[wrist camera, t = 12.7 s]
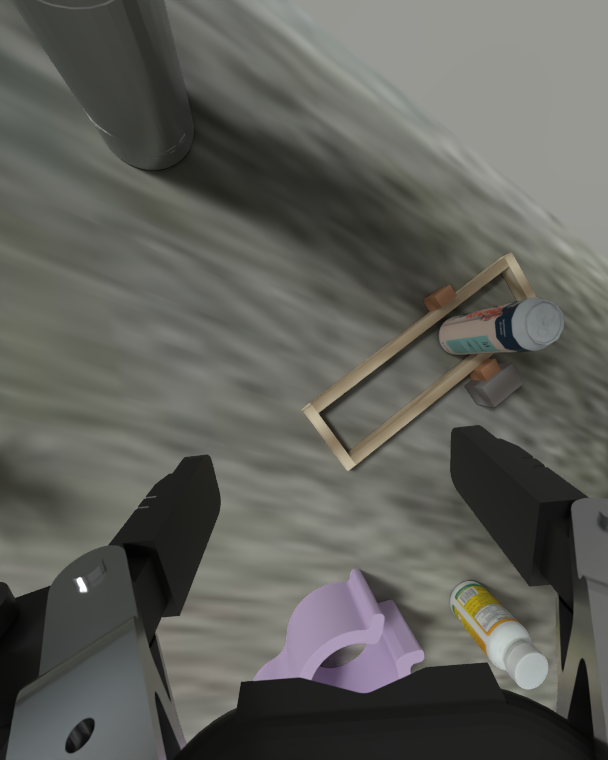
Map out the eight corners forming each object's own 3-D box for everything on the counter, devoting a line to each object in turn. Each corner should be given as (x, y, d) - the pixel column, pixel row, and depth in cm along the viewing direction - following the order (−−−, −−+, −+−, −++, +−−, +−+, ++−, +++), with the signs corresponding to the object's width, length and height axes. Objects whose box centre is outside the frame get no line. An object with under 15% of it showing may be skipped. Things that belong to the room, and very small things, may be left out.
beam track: (293, 398, 34) (296, 401, 31) (495, 245, 38) (515, 235, 35) (365, 495, 37) (374, 507, 34) (550, 342, 40) (574, 341, 37)
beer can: (473, 321, 38) (573, 301, 26) (466, 358, 38) (563, 354, 26) (439, 313, 37) (527, 289, 25) (433, 351, 37) (517, 344, 25)
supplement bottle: (454, 576, 39) (518, 643, 30) (488, 582, 40) (560, 648, 31) (443, 615, 39) (503, 694, 30) (477, 620, 40) (546, 698, 31)
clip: (298, 736, 37) (309, 820, 30) (226, 681, 35) (219, 757, 28) (407, 613, 39) (440, 666, 32) (343, 554, 37) (364, 597, 30)
